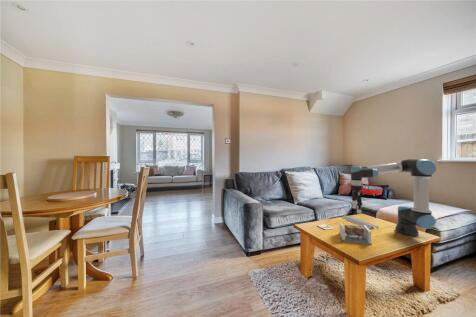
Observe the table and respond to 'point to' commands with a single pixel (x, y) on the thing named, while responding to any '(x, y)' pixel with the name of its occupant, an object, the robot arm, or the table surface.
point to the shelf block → (354, 230)
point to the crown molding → (359, 222)
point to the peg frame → (356, 239)
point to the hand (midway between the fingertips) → (356, 210)
